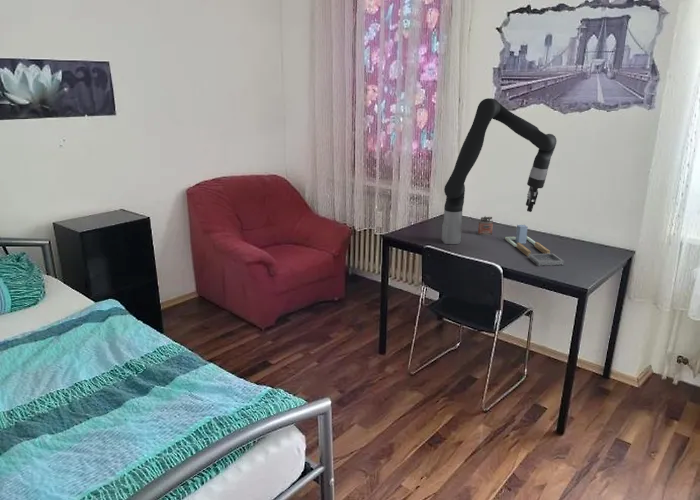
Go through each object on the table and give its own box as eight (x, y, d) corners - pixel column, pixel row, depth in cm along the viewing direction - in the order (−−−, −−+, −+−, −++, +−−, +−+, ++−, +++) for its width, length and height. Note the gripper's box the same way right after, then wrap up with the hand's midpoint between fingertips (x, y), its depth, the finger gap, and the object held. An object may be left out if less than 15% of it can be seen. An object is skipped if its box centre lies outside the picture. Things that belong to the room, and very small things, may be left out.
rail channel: (527, 256, 249) (528, 251, 248) (516, 247, 262) (516, 242, 262) (549, 255, 250) (550, 250, 249) (537, 246, 263) (537, 242, 262)
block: (518, 243, 268) (520, 227, 265) (515, 241, 272) (517, 224, 269) (526, 243, 269) (527, 226, 266) (522, 241, 272) (524, 224, 270)
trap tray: (538, 266, 236) (538, 261, 236) (528, 258, 247) (528, 254, 246) (563, 265, 237) (564, 261, 237) (552, 257, 248) (553, 253, 247)
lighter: (478, 235, 283) (479, 217, 280) (476, 233, 286) (478, 216, 283) (493, 235, 283) (494, 217, 280) (491, 233, 286) (492, 215, 283)
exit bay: (514, 246, 263) (514, 244, 263) (505, 239, 276) (505, 236, 275) (537, 246, 264) (538, 243, 264) (527, 238, 277) (527, 236, 276)
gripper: (528, 171, 250) (519, 202, 257) (530, 179, 238) (521, 211, 245) (544, 174, 249) (535, 205, 256) (547, 182, 236) (537, 214, 243)
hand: (528, 208), depth 250 cm, fingers open, 8 cm apart
